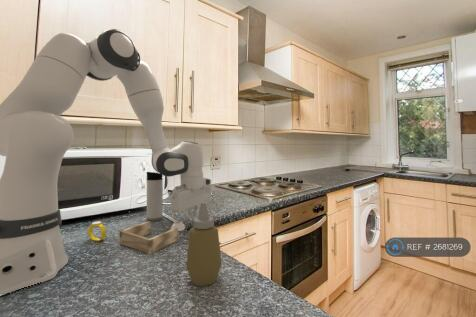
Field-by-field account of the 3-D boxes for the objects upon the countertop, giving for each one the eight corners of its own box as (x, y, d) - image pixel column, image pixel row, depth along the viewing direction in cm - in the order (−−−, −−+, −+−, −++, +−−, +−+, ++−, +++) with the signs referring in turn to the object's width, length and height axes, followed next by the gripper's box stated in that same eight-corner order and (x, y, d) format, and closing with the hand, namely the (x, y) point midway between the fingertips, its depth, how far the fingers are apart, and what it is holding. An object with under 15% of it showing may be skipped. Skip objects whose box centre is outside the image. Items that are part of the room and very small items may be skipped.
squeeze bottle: (201, 295, 49) (201, 210, 47) (179, 279, 54) (178, 203, 53) (228, 278, 55) (228, 202, 53) (206, 266, 60) (205, 197, 59)
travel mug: (142, 219, 96) (142, 171, 95) (155, 215, 102) (155, 170, 101) (153, 222, 93) (153, 172, 92) (165, 218, 99) (165, 171, 98)
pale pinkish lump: (186, 227, 88) (173, 227, 88) (186, 219, 88) (173, 219, 88) (183, 232, 83) (169, 232, 83) (183, 224, 83) (169, 224, 83)
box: (150, 254, 66) (149, 240, 66) (120, 243, 73) (119, 231, 73) (177, 240, 76) (177, 228, 76) (148, 232, 83) (148, 221, 83)
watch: (86, 241, 76) (85, 223, 75) (94, 238, 78) (92, 220, 78) (101, 242, 74) (99, 224, 74) (108, 239, 77) (106, 221, 76)
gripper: (178, 188, 81) (180, 226, 82) (213, 179, 99) (214, 211, 100) (166, 186, 84) (167, 223, 85) (202, 178, 102) (202, 209, 103)
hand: (192, 216), depth 93 cm, fingers closed
